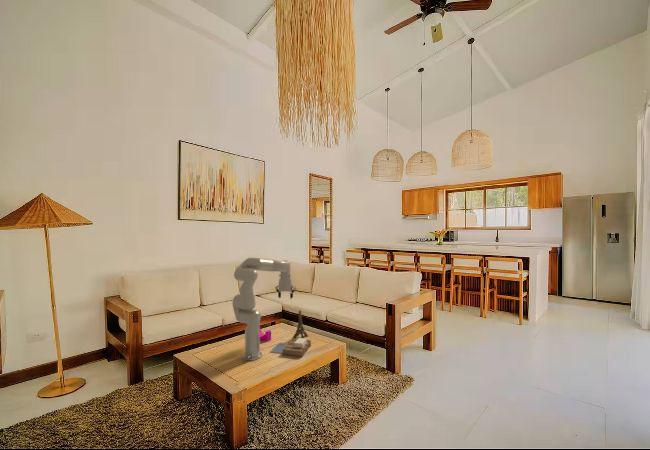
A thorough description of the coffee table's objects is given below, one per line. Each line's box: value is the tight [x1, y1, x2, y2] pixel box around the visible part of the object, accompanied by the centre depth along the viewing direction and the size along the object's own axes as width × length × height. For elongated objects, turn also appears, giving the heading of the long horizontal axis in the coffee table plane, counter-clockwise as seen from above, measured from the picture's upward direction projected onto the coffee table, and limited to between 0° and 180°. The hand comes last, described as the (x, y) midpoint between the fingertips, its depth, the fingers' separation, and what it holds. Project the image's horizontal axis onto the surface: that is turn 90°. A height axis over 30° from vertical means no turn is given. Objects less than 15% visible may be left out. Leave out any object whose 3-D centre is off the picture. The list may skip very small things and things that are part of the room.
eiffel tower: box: [291, 310, 309, 340], centre depth 239 cm, size 11×11×25 cm
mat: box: [269, 342, 288, 355], centre depth 218 cm, size 16×10×1 cm, turn 165°
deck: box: [282, 337, 312, 358], centre depth 215 cm, size 20×14×4 cm
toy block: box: [259, 326, 272, 342], centre depth 236 cm, size 15×6×8 cm, turn 52°
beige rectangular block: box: [294, 337, 308, 348], centre depth 214 cm, size 9×6×3 cm, turn 165°
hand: (285, 297), depth 240 cm, fingers open, 9 cm apart
